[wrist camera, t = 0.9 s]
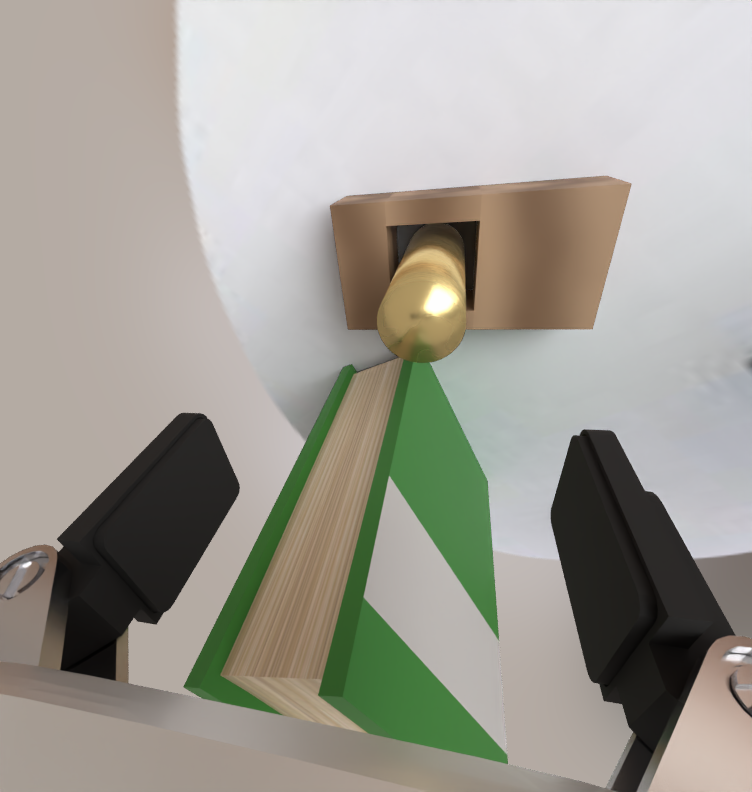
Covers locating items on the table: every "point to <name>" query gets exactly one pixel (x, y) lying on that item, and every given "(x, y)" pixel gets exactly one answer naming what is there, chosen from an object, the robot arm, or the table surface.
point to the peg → (426, 297)
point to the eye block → (492, 248)
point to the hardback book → (372, 578)
